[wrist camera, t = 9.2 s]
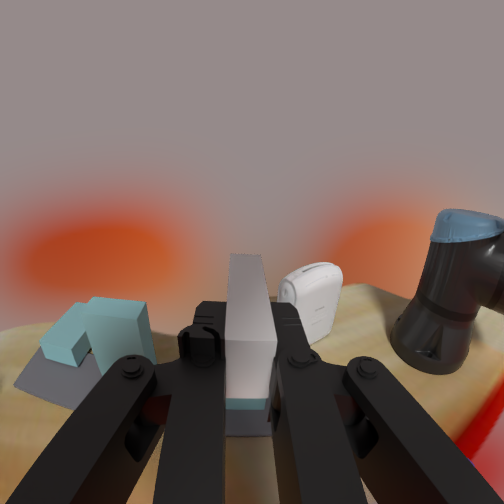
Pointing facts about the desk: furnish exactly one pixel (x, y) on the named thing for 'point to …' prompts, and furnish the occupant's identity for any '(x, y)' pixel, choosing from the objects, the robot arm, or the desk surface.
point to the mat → (88, 374)
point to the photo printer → (313, 296)
